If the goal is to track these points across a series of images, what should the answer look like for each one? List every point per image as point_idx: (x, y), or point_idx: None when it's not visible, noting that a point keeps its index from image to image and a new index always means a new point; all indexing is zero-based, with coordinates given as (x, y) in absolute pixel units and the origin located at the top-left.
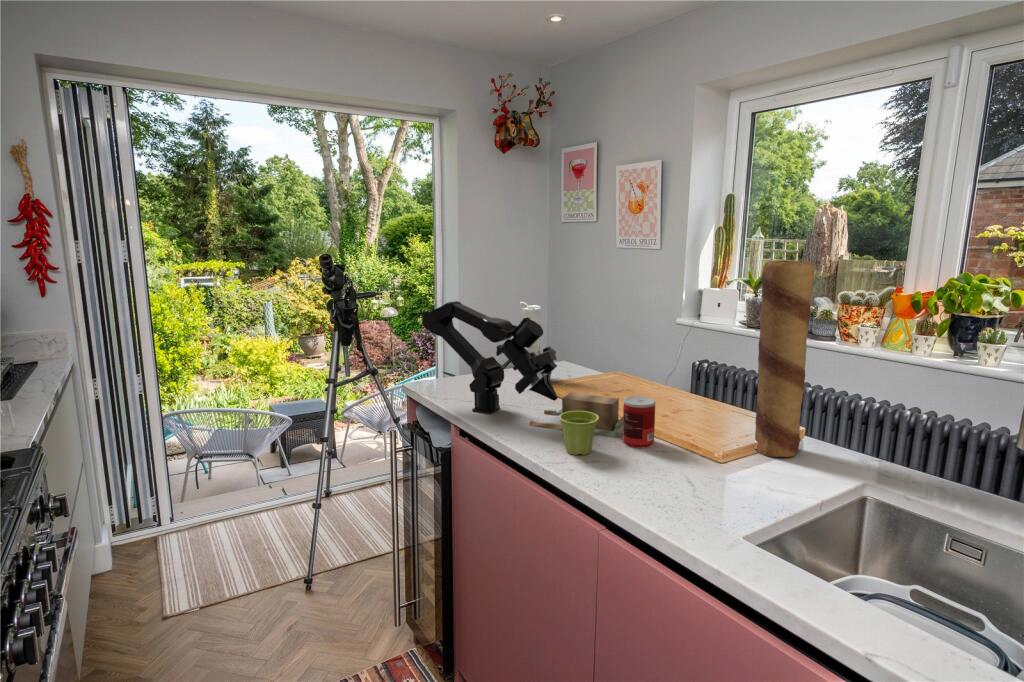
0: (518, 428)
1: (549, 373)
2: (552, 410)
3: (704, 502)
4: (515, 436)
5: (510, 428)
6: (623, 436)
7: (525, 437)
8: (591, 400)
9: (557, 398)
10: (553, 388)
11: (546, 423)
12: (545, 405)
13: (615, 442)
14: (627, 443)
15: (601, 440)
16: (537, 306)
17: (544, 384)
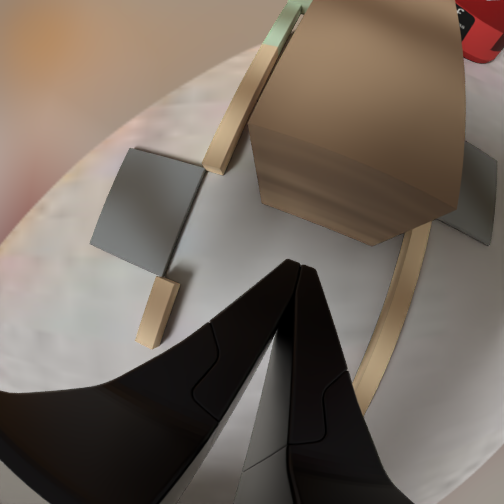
0: (394, 449)
1: (49, 478)
2: (155, 300)
3: None
4: (473, 432)
5: (388, 475)
6: (485, 53)
7: (488, 395)
8: (435, 25)
9: (290, 262)
10: (231, 312)
11: (395, 332)
12: (49, 325)
13: (480, 80)
14: (491, 60)
15: (483, 112)
16: None
17: (381, 473)
